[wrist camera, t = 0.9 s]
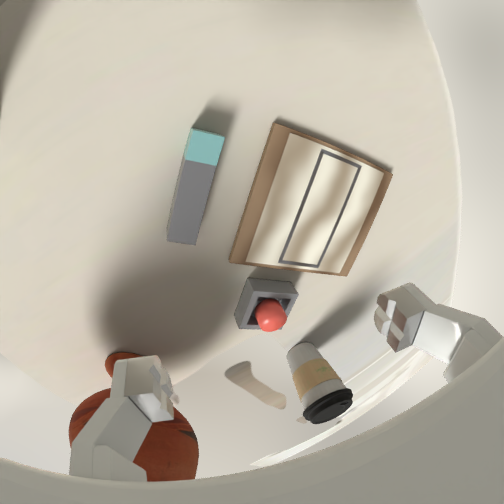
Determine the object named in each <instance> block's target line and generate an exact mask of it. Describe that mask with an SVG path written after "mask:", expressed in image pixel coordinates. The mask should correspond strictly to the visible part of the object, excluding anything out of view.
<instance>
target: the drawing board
mask: <svg viewBox="0 0 504 504" xmlns="http://www.w3.org/2000/svg"><path fill="white" fill-rule="evenodd" d="M392 176H393V174H392V173H390V172H388V171H386V170H384V169H382V168H380V167H378V166H376V165H374V164H372V163H370V162H368V161H366V160H364V159H362V158H360V157H358V156H356V155H353V154H351V153H349V152H347V151H345V150H343V149H340V148H338V147H336V146H333V145H331V144H329V143H326V142H324V141H322V140H319V139H317V138H314V137H312V136H309V135H307V134H304V133H301V132H299V131H296V130H293V129H291V128H288V127H285V126H282V125H279V124H277V123H273V124H272V127H271V130H270V133H269V136H268V139H267V142H266V145H265V148H264V151H263V154H262V157H261V160H260V163H259V166H258V169H257V172H256V175H255V178H254V181H253V184H252V187H251V190H250V193H249V196H248V200H247V203H246V206H245V209H244V212H243V215H242V218H241V221H240V225H239V228H238V231H237V234H236V237H235V240H234V244H233V247H232V250H231V253H230V256H229V262H230V263H235V264H243V265H252V266H260V267H268V268H277V269H285V270H294V271H302V272H311V273H320V274H329V275H338V276H347V275H348V273H349V271H350V269H351V267H352V265H353V263H354V261H355V259H356V257H357V255H358V253H359V251H360V249H361V247H362V245H363V243H364V241H365V239H366V236H367V234H368V232H369V230H370V228H371V226H372V223H373V221H374V219H375V217H376V214H377V212H378V210H379V208H380V205H381V203H382V201H383V198H384V196H385V193H386V191H387V188H388V186H389V184H390V181H391V179H392Z"/></svg>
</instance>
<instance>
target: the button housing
mask: <svg viewBox="0 0 504 504" xmlns="http://www.w3.org/2000/svg"><path fill="white" fill-rule="evenodd" d="M298 295H299V294H298V292H297V291H296V289H295V288H294V286H293V285H292V283H291V282H285V281H274V280H264V279H254V278H247V281H246V284H245V287H244V289H243V292H242V295H241V298H240V301H239V303H238V306H237V309H236V312H235V314H234V316H235V319H236V322H237V324H238V327H239V329H261V328H260V326H259V324H258V321H257V319H256V317H255V314H254V310H255V307H256V306H257V305H258V304H259V303H260V302H261V301H263V300H266V299H276V300H278V301H279V302H280V304H281V306H282V308H283V310H284V311H285V313H286V315H287V317H288V315H289V313H290V311H291V309H292V307H293V305H294V303H295V301H296V299H297V297H298ZM282 327H283V326H282ZM282 327H281V328H279V329H282Z"/></svg>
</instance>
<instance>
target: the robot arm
mask: <svg viewBox="0 0 504 504" xmlns="http://www.w3.org/2000/svg"><path fill="white" fill-rule="evenodd" d="M377 304H378V305H379V307H378V308H377V309H376V311H375V315H374V321H375V325H376V327H377V329H378V331H379V332H380V333H381V334H383V335H385V336H387V342H388V344H389V345H390V346H391V347H392V349H393V350H394V351H395V352H398V351H400V350H402V349H405V348H407V347H409V346H411V345H412V346H413V347H415V348H417V349H419V350H421V351H423V352H425V353H427V354H429V355H431V356H433V357H435V358H437V359H439V360H441V361H443V362H445V363H447V364H449V365H448V367H447V368H446V370H445V371H444V374H443V376H444V378H445V379H446V380H447V381H448V384H447V385H445V386H444V387H442V388H441V389H439V390H438V391H436V392H435V393H433V394H432V395H430V396H429V397H427V398H426V399H424V400H423V401H421V402H420V403H418V404H416V405H415V406H413V407H411V408H410V409H408V410H406V411H404V412H403V413H401V414H399V415H397V416H396V417H394V418H392V419H390V420H388V421H386V422H384V423H382V424H381V425H378V426H377V427H374V428H373V429H370V430H368V431H366V432H364V433H362V434H360V435H357V436H355V437H353V438H351V439H348V440H346V441H343V442H341V443H339V444H336V445H334V446H331V447H328V448H326V449H323V450H320V451H318V452H315V453H312V454H309V455H306V456H303V457H300V458H296V459H293V460H290V461H286V462H283V463H279V464H276V465H272V466H268V467H264V468H260V469H255V470H250V471H246V472H241V473H235V474H230V475H223V476H217V477H210V478H201V479H192V480H179V481H158V482H147V475H146V471H145V470H144V469H143V468H141V467H139V466H138V465H136V464H135V463H133V460H134V458H135V456H136V454H137V452H138V450H139V448H140V446H141V444H142V443H143V441H144V439H145V437H146V435H147V433H148V431H149V429H150V427H151V425H152V423H151V422H159V421H166V420H173V419H174V412H173V403H172V402H171V400H170V399H169V398H170V396H171V395H172V384H171V380H170V377H169V374H168V372H167V371H166V369H164V368H162V367H161V360H160V359H159V357H158V356H157V355H152V356H145V357H137V358H129V359H122V360H117V361H116V362H115V365H114V371H113V378H112V385H111V392H110V398H106V399H105V401H104V402H103V403H102V404H101V406H100V407H99V408H98V409H97V411H96V412H95V413H94V415H93V416H92V417H91V418H90V420H89V421H88V422H87V424H86V425H85V426H84V428H83V429H82V430H81V431H80V433H79V434H78V435H77V437H76V438H75V439H74V441H73V442H72V447H71V457H70V471H69V475H66V474H60V473H55V472H51V471H46V470H42V469H38V468H34V467H30V466H27V465H23V464H20V463H17V462H14V461H11V460H8V459H5V458H0V504H504V337H503V336H502V335H501V334H500V333H498V331H497V330H496V329H495V328H494V327H493V326H491V324H490V323H489V322H488V321H487V320H486V319H485V318H481V317H478V316H475V315H472V314H469V313H466V312H463V311H460V310H457V309H454V308H451V307H447V306H444V305H441V304H437V305H436V304H435V303H434V302H433V301H432V300H431V299H429V298H428V297H427V296H426V295H425V294H424V293H423V292H422V291H421V290H420V289H419V288H417V287H416V286H415V285H414V284H413V283H407V284H405V285H402V286H400V287H397V288H395V289H392V290H390V291H387V292H385V293H382V294H380V295H379V296H378V299H377Z"/></svg>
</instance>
